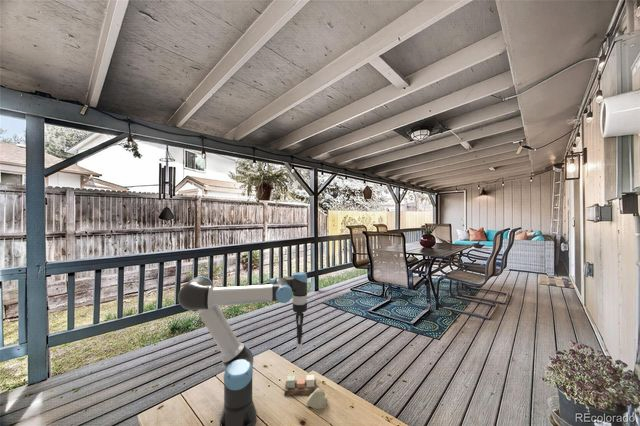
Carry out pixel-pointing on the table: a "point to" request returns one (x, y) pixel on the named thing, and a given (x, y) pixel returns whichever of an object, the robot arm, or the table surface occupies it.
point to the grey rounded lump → (317, 399)
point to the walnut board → (299, 389)
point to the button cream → (310, 380)
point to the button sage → (291, 381)
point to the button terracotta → (301, 383)
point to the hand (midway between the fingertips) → (299, 349)
